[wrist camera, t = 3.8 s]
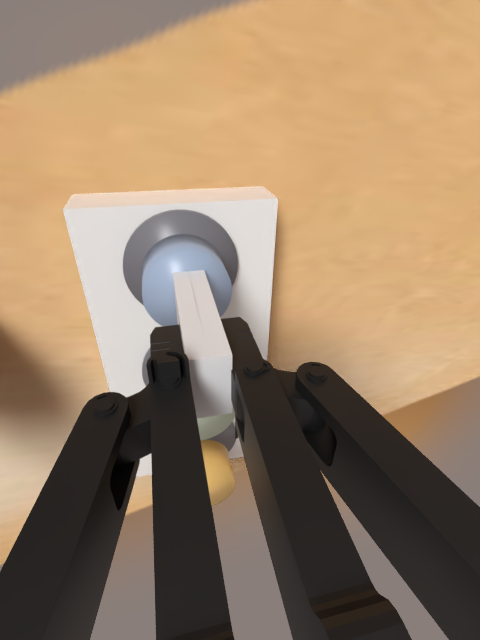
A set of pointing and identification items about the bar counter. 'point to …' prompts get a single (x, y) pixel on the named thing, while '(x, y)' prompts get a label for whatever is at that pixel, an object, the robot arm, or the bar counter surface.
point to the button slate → (181, 257)
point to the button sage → (214, 424)
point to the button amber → (217, 470)
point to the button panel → (128, 256)
